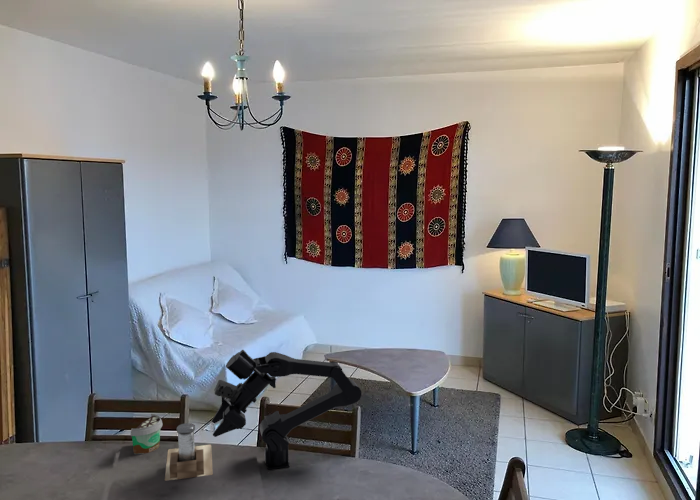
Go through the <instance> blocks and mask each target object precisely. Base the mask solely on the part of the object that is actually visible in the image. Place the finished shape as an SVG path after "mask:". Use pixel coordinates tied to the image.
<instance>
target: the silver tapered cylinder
mask: <svg viewBox="0 0 700 500" xmlns="http://www.w3.org/2000/svg"><path fill="white" fill-rule="evenodd" d="M195 431H196V425H195V424H194V423H190V422H187V423H186V422H185V423H181V424H179V425H177V427H176V433H177V440H178V441H177V443H178V444H177V445H178V447H177V448H179V462H183V461H192V460H195V446H196V445H195Z"/></svg>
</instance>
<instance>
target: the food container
mask: <svg viewBox="0 0 700 500" xmlns="http://www.w3.org/2000/svg"><path fill="white" fill-rule="evenodd" d="M162 427H163V420H162V418H161V416H160V415H158V414H155V413H151V415H150V417H149V418H148V419H146V420H144V421H142V422H141V423H140V424H139V425H138V426H136V428H131V430H130V437H131V439H132V448H133V449H132V451H133V455H144V454H149V453H152V452H154V451H156V450H157V449H159V447H160V443H161V429H162Z"/></svg>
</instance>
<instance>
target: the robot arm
mask: <svg viewBox="0 0 700 500" xmlns="http://www.w3.org/2000/svg"><path fill="white" fill-rule="evenodd" d="M225 368H226V369H227V370H228V371H230V372H231V373H232V374H233V375H234V376H236V378H238V379H239V380H245V381H244V382H239V383H238V384H237V385H235V384H233V383H230V382H227V381H225V380H222V379H218V381H217V382H216V386H214V395H216V396H217V397H221V399H220V400H221V404H220V405H219V407H218V409H217V411H216V413H215V414H214V416H213V418H212V420H211V422H212V424H216V423H218V422H220V421H221V422H220V423H219V424H218V426H217V427H216V428H215V430H214V431H213V433H212V436H213V437H214V438H217V437H218V436H221V435H224V434H226V433H228V432H232V431H234V430H239V429H240V430H242V429H243V428H244V427H245V426H246V424H247V419H246V415H245V414H246V413H247V411H248V410H247V408H249V406H250V405H251V404H252V403H254V404H255V403H256V402H257V398H258V397H259V396H260V394H261V393H262V392H263V391H264V390H265V389H266V388H267V387H268V386H271V387H272V388H273V389H276V388H277V387H276V383H277V382H276V381H277V378H280V377H288V376H291V375H302V376H312V377H322V378H332V379H333V380H334V381H335V383H336V384H335V385H334V386H333V388H331V389H330V391H329V392H328V393H326V394H324V395H322V396H320V397H318V398H316V399H314V400H312V401H309V402H308V403H306V404H303V405H302V406H300V407H298V408H295V409H294V410H291V411H290V412H288V413H283V414H280V413H279V410H275V411H274V412H273V413H271V414H269V415H265V417H264V418H263V419H262V420H261V421H260V424H259V431H260V436H261V439H262V441H263V443H265V444H266V445H265V448H263V450H264V454H263V455H264V464H265V465H266V467H267V470H276V469H283V468H290V466H291V465H290V462H289V444H290V442H289V440H288V436H287V435H288V434H289V433H290V432H291V431H292V430H293V429H295V428H297V427H298V426H301V425H304V424H305V423H306V422H308V421H311V420H313V419H315V418H317V417H319V416H321V415H323V414H324V413H327V412H329V411H331V410H333V409H335V408H342V407H348V406H351V405H355V404H357V403H359V401H360V400H361V397H362V390H361V388H360V387H359V386H358V384H357V383H356V382H355V380H353V379H351V378H348V377H347V375H346V373H345V372H344V371H343V368H342V367H341V366H340V364H339V363H338V362H335V361H332V362H328V361H318V360H312V359H311V360H309V359H307V360H306V359H302V358H301V359H299V358H294V357H291V356H288V355H287V354H284V353H280V352H278V351H277V352H276V351H271V352H269V353H268V354H266V355H264V356H260V357H259V356H258V357H256V358H253V357H252V356H250V355H249V354H248V353H247V352H246V351H245V350H244V349H241V350H240V351H239V352H236V353H235V354H233V355H232V356H231V357H230V358H229V360H228V361H227V362H226V364H225Z"/></svg>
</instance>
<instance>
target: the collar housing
mask: <svg viewBox="0 0 700 500" xmlns="http://www.w3.org/2000/svg"><path fill="white" fill-rule="evenodd" d="M194 446H195V460H192V461H183V462H179V447H177V448H176V447H175V448H169V449H167V456H166V465H165V475H164V481H174V480H181V479H182V480H184V479H190V478H199V477H206V476H213V475H214V473H213V455H212V454H213V453H212V452H213V451H212V444H205V445H204V444H203V445H194Z"/></svg>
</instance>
